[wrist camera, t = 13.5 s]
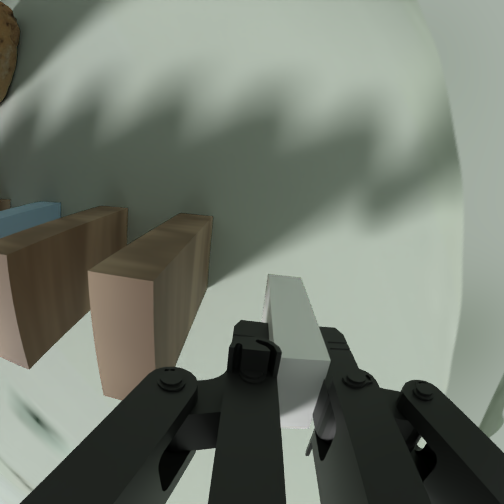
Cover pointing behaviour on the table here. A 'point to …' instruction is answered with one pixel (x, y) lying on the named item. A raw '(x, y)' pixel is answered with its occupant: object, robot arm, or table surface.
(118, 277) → the domino
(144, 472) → the robot arm
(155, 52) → the table surface
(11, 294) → the domino
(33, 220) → the domino
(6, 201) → the domino
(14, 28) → the bread loaf
